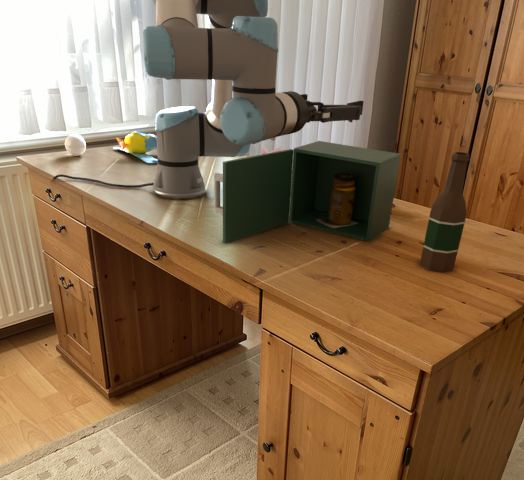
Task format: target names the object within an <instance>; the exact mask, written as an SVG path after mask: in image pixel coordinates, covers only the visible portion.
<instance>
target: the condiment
mask: <svg viewBox="0 0 524 480" xmlns="http://www.w3.org/2000/svg"><path fill="white" fill-rule="evenodd" d="M354 185H355V176H354V175H352V174H348V173H338V174H335V176H334V183H333V185H332V188H331V197H330V206H329V215H328V218H322V219H316V220H317V221H318V222H320V223H322V224H324V225H326V226H329V227H331V228H339V227H343V226H349V225H354V224H358V223H356V222H354V221H351V219H352V211H353V204H354V196H355V186H354Z"/></svg>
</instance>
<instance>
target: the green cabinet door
mask: <svg viewBox="0 0 524 480" xmlns="http://www.w3.org/2000/svg"><path fill="white" fill-rule="evenodd" d="M293 152H294V149H292V148H289V149H284V150H283V149H282V150H281V151H278V152H272V153H270V152H269V153H267V154H262V155H261V154H257V155H256V154H255V155H252V156H246V157H241V158H236V159H230V160H225V161H224V160H223V161H222V173H220V172H214V173H213V192H214V193H213V194H214V195H213V198H214V199H213V203H214V204H213V206H214V207H213V209H214V210H213V211H214V213H215V214H218V215H220V216H222V243H224V244H227V243H231V242H234V241H236V240H240V239H243V238H246V237H249V236H253V235H255V234H258V233H263V232H266V231H268V230H272V229H275V228H278V227H281V226H284V225H287V224H289V223H290V222H289V213H290V198H291V182H292V167H293ZM221 183H222V206H221Z"/></svg>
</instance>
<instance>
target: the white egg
mask: <svg viewBox="0 0 524 480" xmlns="http://www.w3.org/2000/svg"><path fill="white" fill-rule="evenodd" d="M64 148H65V150H66V152H67V153H68V154H70V155H71V156H74V157H80V156H82V155H83V154H84V153H85V151H86V149H87V144H86V141H85V139H84V138H83V137H82V136H81V135H79V134H76V133H75V134H74V133H73V134H69V135H68V136H67V137H66V138H65V140H64Z"/></svg>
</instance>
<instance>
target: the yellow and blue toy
mask: <svg viewBox="0 0 524 480" xmlns="http://www.w3.org/2000/svg"><path fill="white" fill-rule="evenodd" d="M115 140H116V141H117V143H118V146H119V147H113V150H119V151H123V152H125V153H129V154H130V155H133V156H135V157H137V158H138V159H140V160H142V161H143V162H144V163H146V164H155V165H156V164H157V165H158V158H155V157H153V156H151V155H149V154H147V153H150V152H151V151H154V150H157V134H152V133H144V132H142V131H132V132H131V133H129V134H127V135H126V136H125V138H124V139H123V138H120V137H118V136H117V137H115Z"/></svg>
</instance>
